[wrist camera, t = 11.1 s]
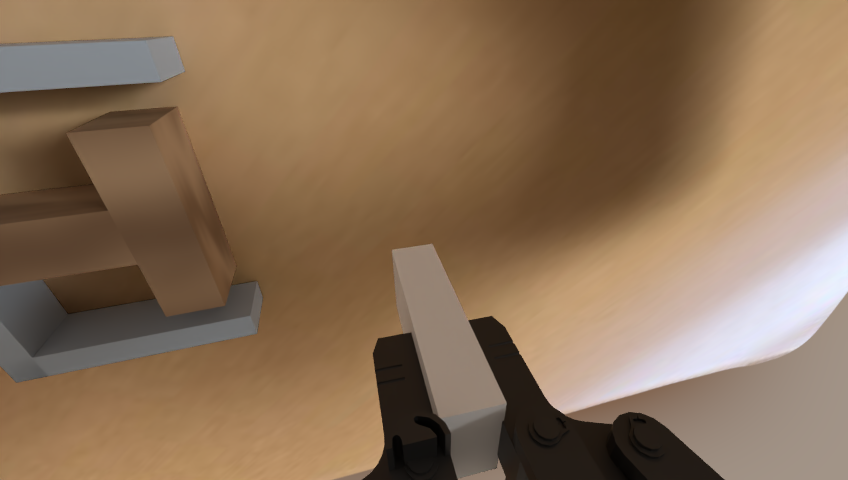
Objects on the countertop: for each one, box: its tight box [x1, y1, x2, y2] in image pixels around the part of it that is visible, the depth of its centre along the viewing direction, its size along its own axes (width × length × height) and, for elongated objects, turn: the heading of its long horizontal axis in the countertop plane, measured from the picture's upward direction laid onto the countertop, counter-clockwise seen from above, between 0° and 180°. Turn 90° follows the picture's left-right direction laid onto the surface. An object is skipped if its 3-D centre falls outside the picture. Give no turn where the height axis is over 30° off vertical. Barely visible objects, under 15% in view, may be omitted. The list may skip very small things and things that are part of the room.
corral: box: [0, 36, 263, 383], centre depth 19 cm, size 16×12×4 cm
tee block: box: [0, 107, 237, 317], centre depth 19 cm, size 10×10×4 cm
